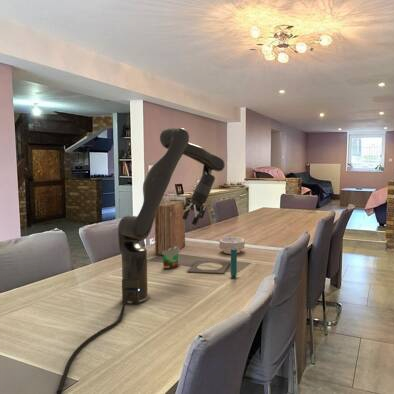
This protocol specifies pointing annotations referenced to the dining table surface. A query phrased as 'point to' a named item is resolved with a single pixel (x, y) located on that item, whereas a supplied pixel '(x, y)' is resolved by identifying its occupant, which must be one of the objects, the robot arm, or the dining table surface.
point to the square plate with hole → (209, 267)
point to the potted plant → (170, 257)
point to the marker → (233, 263)
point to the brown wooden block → (169, 226)
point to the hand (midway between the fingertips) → (188, 221)
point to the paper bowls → (231, 244)
